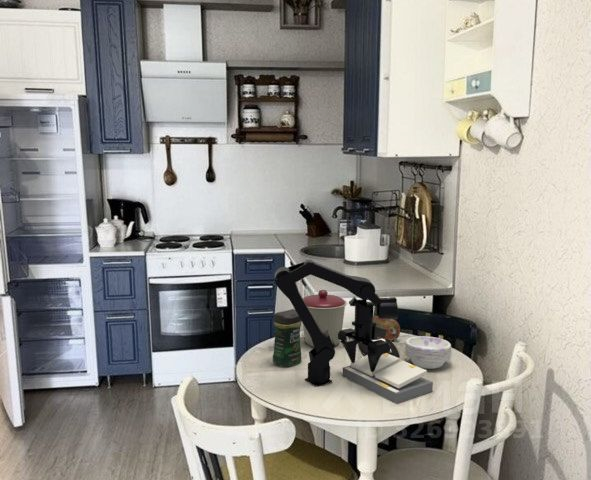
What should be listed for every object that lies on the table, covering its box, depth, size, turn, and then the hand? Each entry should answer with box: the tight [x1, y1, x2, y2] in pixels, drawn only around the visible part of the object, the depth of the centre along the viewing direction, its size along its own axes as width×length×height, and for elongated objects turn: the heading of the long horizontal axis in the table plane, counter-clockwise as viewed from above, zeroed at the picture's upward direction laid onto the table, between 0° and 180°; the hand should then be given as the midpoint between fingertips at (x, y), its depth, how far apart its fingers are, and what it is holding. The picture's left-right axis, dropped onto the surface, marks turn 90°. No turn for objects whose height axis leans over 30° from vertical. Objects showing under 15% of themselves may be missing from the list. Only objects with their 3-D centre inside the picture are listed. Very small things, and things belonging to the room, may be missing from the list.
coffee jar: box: [272, 308, 303, 368], centre depth 189 cm, size 10×8×19 cm
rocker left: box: [350, 353, 401, 377], centre depth 177 cm, size 12×10×1 cm
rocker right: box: [375, 360, 428, 388], centre depth 167 cm, size 12×10×1 cm
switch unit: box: [342, 364, 434, 405], centre depth 172 cm, size 15×24×4 cm, turn 35°
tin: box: [373, 315, 401, 342], centre depth 217 cm, size 15×3×8 cm, turn 42°
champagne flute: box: [274, 286, 293, 314], centre depth 203 cm, size 7×7×24 cm
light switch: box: [357, 338, 401, 359], centre depth 204 cm, size 20×3×14 cm
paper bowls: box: [404, 335, 452, 370], centre depth 189 cm, size 15×15×8 cm
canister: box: [301, 289, 348, 348], centre depth 208 cm, size 18×18×21 cm
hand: (362, 367), depth 174 cm, fingers open, 9 cm apart
